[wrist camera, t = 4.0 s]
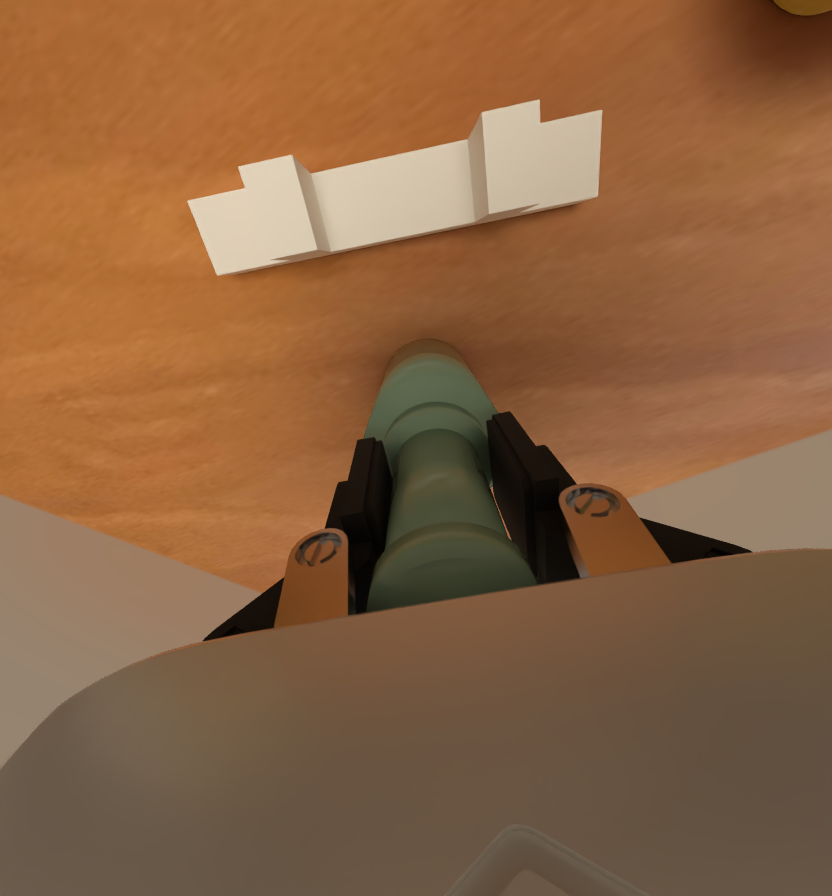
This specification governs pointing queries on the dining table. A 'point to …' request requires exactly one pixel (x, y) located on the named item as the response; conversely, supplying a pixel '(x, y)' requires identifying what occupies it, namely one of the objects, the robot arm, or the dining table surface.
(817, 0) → the plant pot
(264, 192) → the u rest
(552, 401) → the dining table surface
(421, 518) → the green bottle
